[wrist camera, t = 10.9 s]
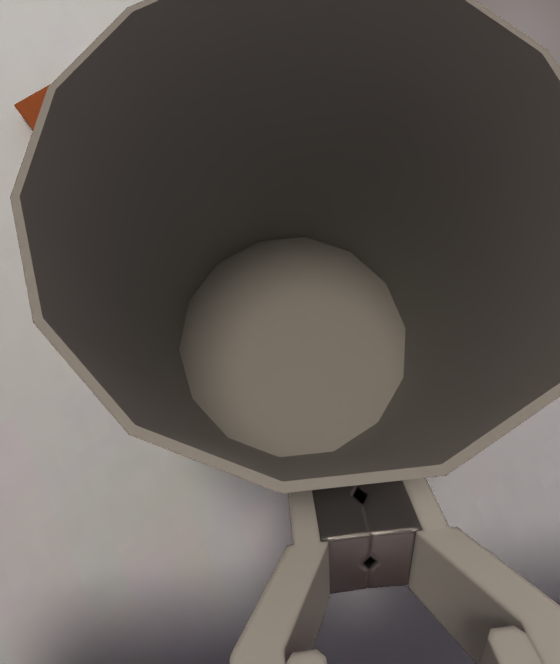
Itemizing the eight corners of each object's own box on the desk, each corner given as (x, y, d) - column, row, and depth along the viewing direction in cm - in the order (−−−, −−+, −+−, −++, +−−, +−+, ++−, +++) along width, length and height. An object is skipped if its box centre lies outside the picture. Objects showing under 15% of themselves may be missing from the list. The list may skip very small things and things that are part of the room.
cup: (449, 347, 15) (742, 181, 6) (294, 513, 14) (333, 674, 4) (291, 205, 17) (309, -113, 7) (135, 339, 15) (-105, 160, 6)
